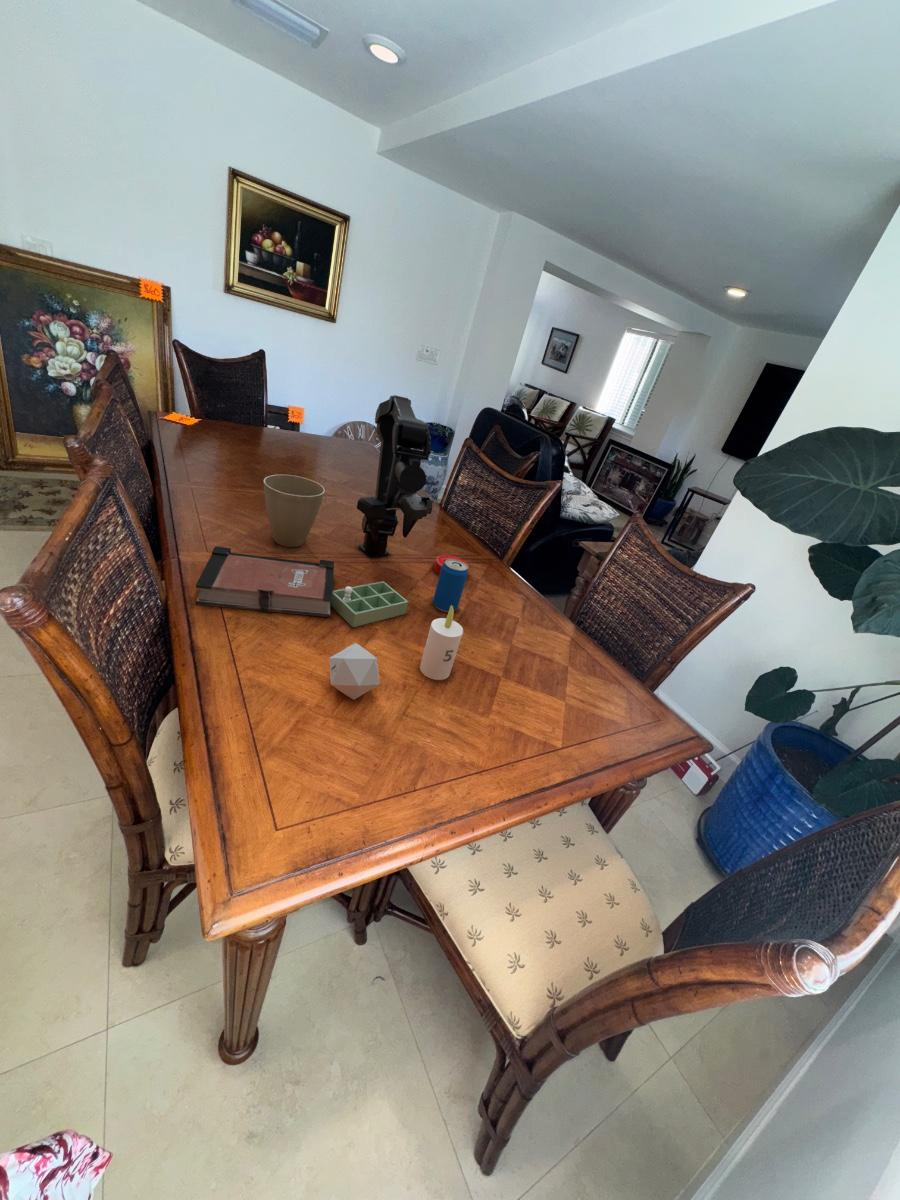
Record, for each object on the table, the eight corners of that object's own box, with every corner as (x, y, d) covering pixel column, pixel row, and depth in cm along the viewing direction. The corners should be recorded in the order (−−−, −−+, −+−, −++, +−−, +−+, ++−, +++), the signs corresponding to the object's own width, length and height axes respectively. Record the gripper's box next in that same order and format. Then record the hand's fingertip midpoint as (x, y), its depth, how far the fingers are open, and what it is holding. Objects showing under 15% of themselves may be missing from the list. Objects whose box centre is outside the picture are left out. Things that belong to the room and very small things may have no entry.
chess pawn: (352, 603, 110) (356, 584, 108) (351, 609, 108) (354, 590, 105) (340, 601, 110) (343, 582, 107) (338, 607, 107) (341, 588, 105)
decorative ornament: (431, 562, 141) (433, 552, 139) (462, 566, 144) (465, 557, 142) (436, 578, 133) (439, 567, 131) (469, 582, 136) (472, 572, 134)
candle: (426, 682, 93) (444, 618, 86) (415, 660, 98) (431, 598, 91) (455, 679, 96) (475, 617, 89) (443, 659, 101) (461, 598, 94)
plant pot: (274, 556, 121) (279, 496, 113) (250, 531, 129) (253, 474, 122) (328, 551, 131) (335, 495, 123) (302, 527, 139) (308, 474, 132)
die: (340, 668, 92) (317, 643, 84) (385, 656, 91) (366, 630, 83) (342, 710, 87) (319, 688, 79) (390, 697, 86) (371, 674, 78)
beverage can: (460, 606, 123) (472, 564, 117) (452, 616, 117) (464, 573, 111) (437, 597, 124) (448, 555, 118) (428, 607, 118) (439, 564, 112)
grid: (328, 604, 109) (330, 591, 107) (381, 593, 118) (383, 581, 117) (352, 627, 103) (355, 614, 101) (405, 613, 113) (408, 601, 111)
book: (195, 606, 96) (194, 584, 94) (215, 565, 111) (215, 546, 108) (329, 618, 103) (332, 599, 101) (331, 579, 118) (334, 561, 115)
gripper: (390, 491, 100) (377, 558, 107) (454, 489, 112) (438, 549, 120) (360, 472, 106) (350, 536, 113) (424, 472, 119) (411, 530, 126)
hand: (389, 538), depth 118 cm, fingers open, 9 cm apart
